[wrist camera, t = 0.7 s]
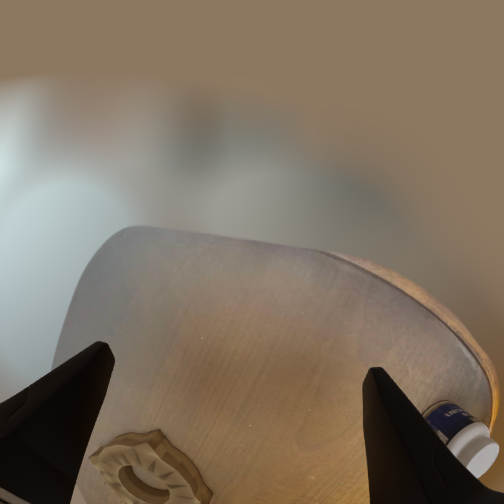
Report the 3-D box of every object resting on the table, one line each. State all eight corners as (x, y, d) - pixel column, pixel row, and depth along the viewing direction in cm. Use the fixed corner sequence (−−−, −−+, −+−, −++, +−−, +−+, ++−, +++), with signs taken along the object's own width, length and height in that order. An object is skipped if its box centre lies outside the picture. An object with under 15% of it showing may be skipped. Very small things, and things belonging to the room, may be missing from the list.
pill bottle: (460, 396, 20) (513, 428, 11) (446, 437, 20) (490, 477, 10) (421, 402, 21) (472, 445, 11) (408, 445, 20) (446, 495, 11)
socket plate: (221, 495, 22) (216, 511, 19) (149, 508, 22) (141, 520, 19) (160, 421, 23) (148, 434, 20) (94, 443, 24) (81, 453, 21)
